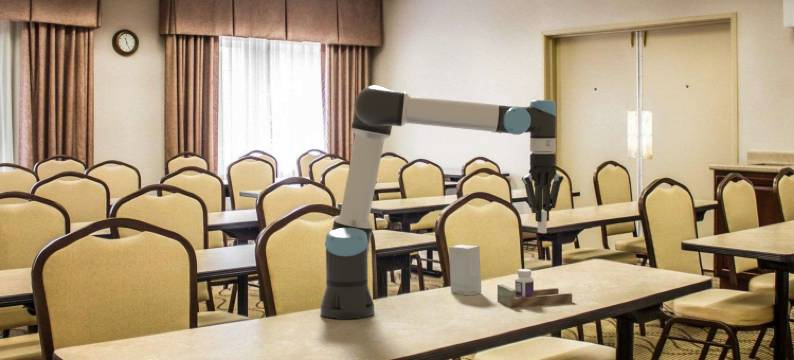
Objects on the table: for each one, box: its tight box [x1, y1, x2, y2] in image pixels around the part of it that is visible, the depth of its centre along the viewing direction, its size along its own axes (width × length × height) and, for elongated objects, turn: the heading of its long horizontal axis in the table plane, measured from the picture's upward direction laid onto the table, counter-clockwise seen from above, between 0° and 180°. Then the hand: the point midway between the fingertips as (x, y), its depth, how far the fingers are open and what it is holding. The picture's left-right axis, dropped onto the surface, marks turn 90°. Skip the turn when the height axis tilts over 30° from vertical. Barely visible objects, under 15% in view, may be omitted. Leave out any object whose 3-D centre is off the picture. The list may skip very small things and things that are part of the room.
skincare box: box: [448, 244, 482, 296], centre depth 279 cm, size 8×6×15 cm
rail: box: [497, 284, 573, 308], centre depth 267 cm, size 20×9×5 cm, turn 110°
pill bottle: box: [514, 268, 535, 298], centre depth 265 cm, size 5×5×10 cm
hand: (542, 232), depth 266 cm, fingers closed
